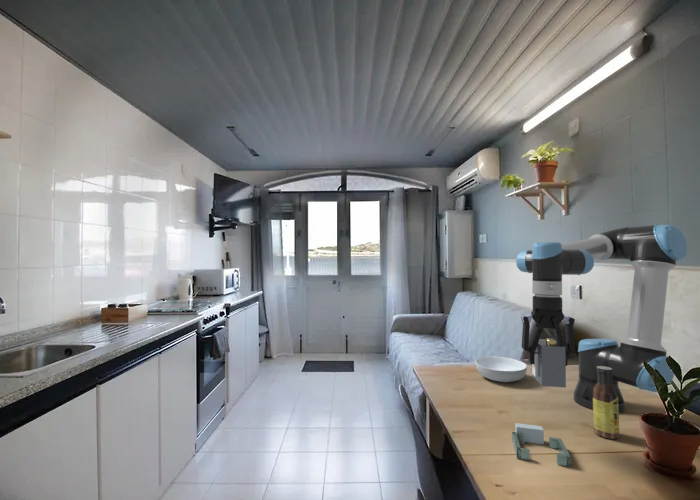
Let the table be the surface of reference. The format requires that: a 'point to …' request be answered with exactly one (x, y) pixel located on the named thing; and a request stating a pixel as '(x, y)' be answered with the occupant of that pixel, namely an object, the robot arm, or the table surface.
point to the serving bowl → (501, 368)
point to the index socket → (556, 443)
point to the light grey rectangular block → (531, 433)
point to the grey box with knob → (551, 363)
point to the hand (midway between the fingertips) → (547, 376)
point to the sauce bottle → (605, 405)
